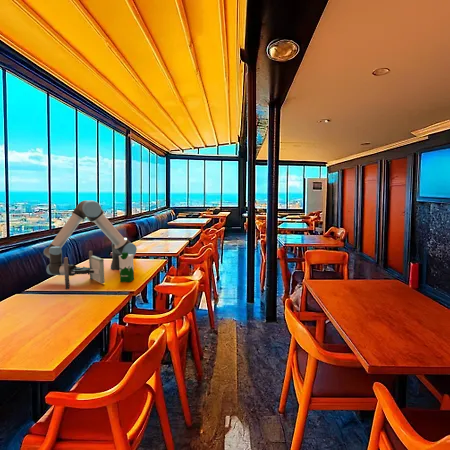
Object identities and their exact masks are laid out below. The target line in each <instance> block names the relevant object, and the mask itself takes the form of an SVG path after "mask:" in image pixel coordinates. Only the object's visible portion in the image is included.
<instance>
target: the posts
mask: <svg viewBox="0 0 450 450" xmlns="http://www.w3.org/2000/svg"><path fill="white" fill-rule="evenodd" d="M90 256H94V255H93V250H88V264H89V268H91V263H90ZM63 264H64V272H65V275H64V283H65V284H64V287H65V290H69V289H70V276H69V268H68V264H69V257H63ZM89 280H92V279H91V273H90V274H89Z"/></svg>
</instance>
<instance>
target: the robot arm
mask: <svg viewBox="0 0 450 450" xmlns="http://www.w3.org/2000/svg"><path fill="white" fill-rule="evenodd" d="M104 213H105V212H104V210H103V209H102V206H101V204H100V203H99V202H98V201H95V200H92V199H90V200H87V199H86V200H81V201H80V202H78V204H77V206H75V208H74V209H73V211H72V212H71V216H70V217H69V218H68V220H67V221H66V223H65V224H64V225H63V226H62V228H61V229H60V230H59V232H58V233H57V235H56V236H55V237H54V239H53V240H52V242H50V244H49V245H48V247H45V248H44V249H43V255H44V256H45V257H46V258H48V259H49V264H48V265H47V266H46V270H45V271H46V273H47V275H51V276H52V275H53V276H65V272H64V263H63V250H62V248H63V246H64V245H65V244H66V242H67V241H68V239H69V238H70V237H71V236H72V234H73V233H74V232H75V230H76V229H77V228H78V226H79V225H80V223H81V222H82V221H84V220H85V219H86V218H87V219H88V220H89V222H90V223H94V224H95V225H96V226H97V228H99V230H101V232H102V233H103V234H104V235H105V236H106V237H107V238H108V239H109V240H110V241H111V251H112V255H111V256H112V260H111V263H110V269H111V270H115V271H117V270H118V271H120V267H119V256H120V255H122V253H123V252H128V254H134V255H133V257H135V255H136V254H137V246H136V245H135V244H134V243H133V242H131V241H130V240H129V239H128V237H124V236H123V235H122V234H121V232H119V231H118V229H117V228H116V227H115V226H114V225H113V224H112V223H111V221H110V220H109V219H108V217H106V216H105V214H104ZM68 268H69V277H70V276H71V277H73V276H75V275H89V276H90V273H92V274H100V269H93V268H90V267H85V266H82V267H80V266H76V264H69V263H68Z"/></svg>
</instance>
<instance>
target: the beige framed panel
mask: <svg viewBox="0 0 450 450" xmlns="http://www.w3.org/2000/svg"><path fill="white" fill-rule="evenodd" d="M90 263H91V268H93V269H100V274H92V273H91V279H90V280H95V281H96V282H98V283H100V284H105V283H106V282H105V281H106V279H105V264H104V259H103V258H101V257H99V256H96V255H93V256H90Z"/></svg>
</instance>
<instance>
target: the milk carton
mask: <svg viewBox="0 0 450 450" xmlns="http://www.w3.org/2000/svg"><path fill="white" fill-rule="evenodd" d="M133 255H134V254H128V252H123V253H122V255H120V256H119V267H120V270H119V280H120V281H119V282H120V283H131V282H132V281H134V280H135V271H134V270H135V267H134V256H135V255H134V256H133Z"/></svg>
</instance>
